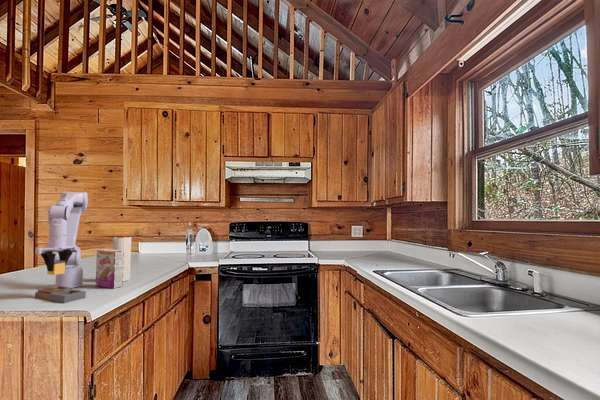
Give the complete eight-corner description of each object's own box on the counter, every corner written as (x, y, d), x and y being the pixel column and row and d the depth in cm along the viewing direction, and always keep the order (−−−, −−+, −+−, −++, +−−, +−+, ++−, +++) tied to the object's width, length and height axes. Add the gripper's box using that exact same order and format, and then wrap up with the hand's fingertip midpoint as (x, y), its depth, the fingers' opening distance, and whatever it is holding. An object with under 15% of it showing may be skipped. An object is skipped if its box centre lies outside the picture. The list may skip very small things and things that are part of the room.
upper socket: (59, 292, 134) (59, 285, 134) (74, 294, 131) (74, 287, 131) (34, 297, 126) (35, 290, 126) (50, 300, 123) (50, 292, 123)
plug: (58, 272, 131) (58, 260, 131) (64, 273, 130) (65, 260, 130) (47, 274, 127) (48, 261, 128) (54, 275, 126) (54, 262, 126)
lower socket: (71, 295, 129) (71, 289, 129) (85, 297, 127) (85, 291, 127) (49, 300, 122) (50, 293, 122) (64, 303, 119) (64, 295, 119)
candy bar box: (94, 286, 145) (96, 249, 146) (104, 284, 150) (106, 248, 150) (113, 289, 141) (115, 251, 142) (123, 286, 146) (124, 250, 147)
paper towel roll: (109, 283, 153) (111, 237, 154) (113, 280, 159) (115, 236, 159) (126, 282, 154) (128, 237, 155) (129, 279, 160) (131, 236, 161)
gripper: (44, 237, 121) (42, 274, 121) (82, 235, 135) (81, 268, 134) (32, 236, 124) (30, 272, 123) (71, 234, 137) (69, 266, 137)
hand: (56, 270), depth 129 cm, fingers closed on plug, 4 cm apart
